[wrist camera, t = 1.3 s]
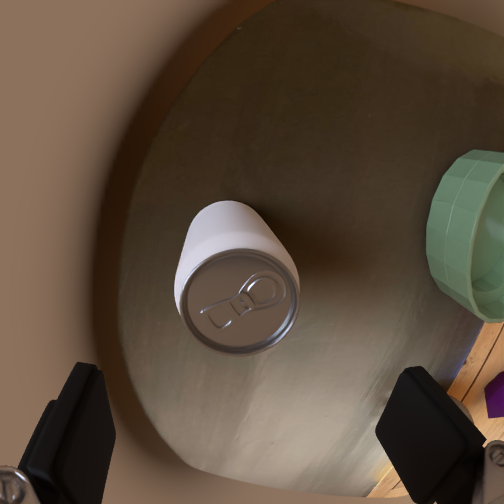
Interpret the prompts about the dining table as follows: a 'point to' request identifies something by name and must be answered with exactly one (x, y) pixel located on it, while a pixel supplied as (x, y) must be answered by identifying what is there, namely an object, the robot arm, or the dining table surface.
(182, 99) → the dining table surface
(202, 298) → the can
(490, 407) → the purple potion bottle
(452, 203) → the green faceted bowl
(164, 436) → the dining table surface
